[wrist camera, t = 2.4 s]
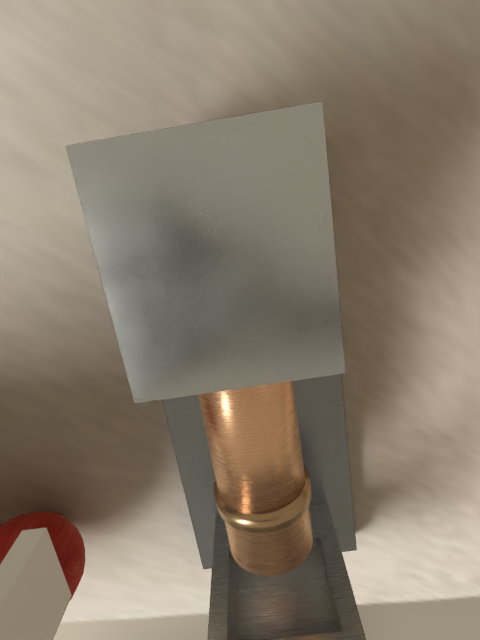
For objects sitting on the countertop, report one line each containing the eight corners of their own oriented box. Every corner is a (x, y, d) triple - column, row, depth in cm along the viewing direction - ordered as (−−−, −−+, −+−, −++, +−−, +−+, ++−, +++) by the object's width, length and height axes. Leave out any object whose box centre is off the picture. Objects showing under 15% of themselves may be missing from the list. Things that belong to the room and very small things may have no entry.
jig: (204, 553, 28) (188, 740, 19) (112, 167, 21) (6, 154, 11) (351, 535, 28) (410, 716, 18) (314, 132, 20) (383, 89, 11)
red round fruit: (101, 555, 28) (51, 692, 21) (15, 548, 28) (-67, 684, 21) (101, 485, 27) (47, 607, 19) (10, 477, 26) (-82, 597, 19)
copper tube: (227, 510, 22) (224, 586, 18) (152, 151, 17) (124, 142, 13) (309, 499, 22) (325, 573, 18) (261, 133, 17) (270, 117, 12)
